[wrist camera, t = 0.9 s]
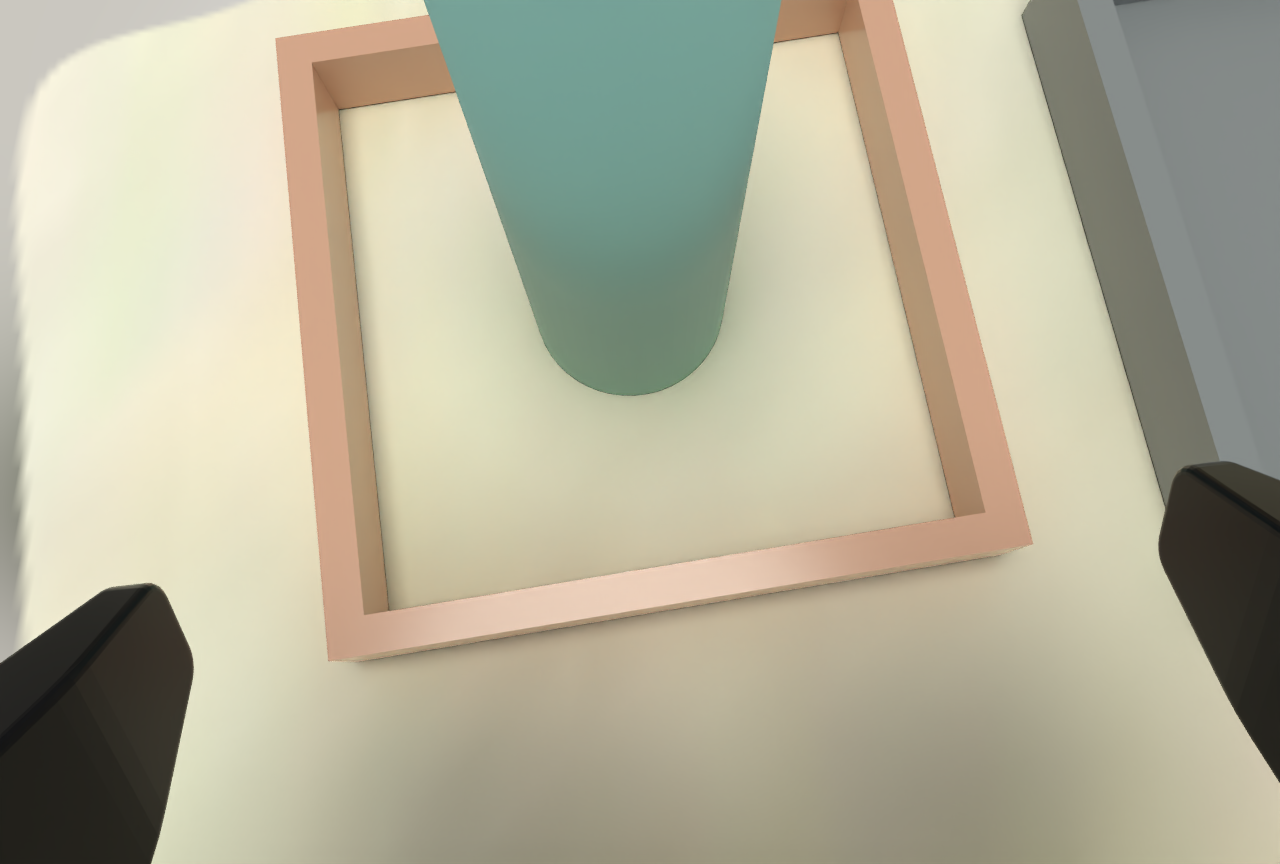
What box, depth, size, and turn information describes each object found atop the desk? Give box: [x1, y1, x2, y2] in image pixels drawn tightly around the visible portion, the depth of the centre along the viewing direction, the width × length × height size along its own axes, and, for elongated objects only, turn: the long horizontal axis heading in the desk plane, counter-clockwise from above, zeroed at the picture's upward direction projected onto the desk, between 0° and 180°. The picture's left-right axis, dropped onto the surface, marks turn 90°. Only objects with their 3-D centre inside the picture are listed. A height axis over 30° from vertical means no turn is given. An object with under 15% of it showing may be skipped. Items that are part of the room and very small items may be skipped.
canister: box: [424, 0, 781, 395], centre depth 17 cm, size 4×4×14 cm
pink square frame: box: [275, 0, 1033, 662], centre depth 23 cm, size 15×15×2 cm
